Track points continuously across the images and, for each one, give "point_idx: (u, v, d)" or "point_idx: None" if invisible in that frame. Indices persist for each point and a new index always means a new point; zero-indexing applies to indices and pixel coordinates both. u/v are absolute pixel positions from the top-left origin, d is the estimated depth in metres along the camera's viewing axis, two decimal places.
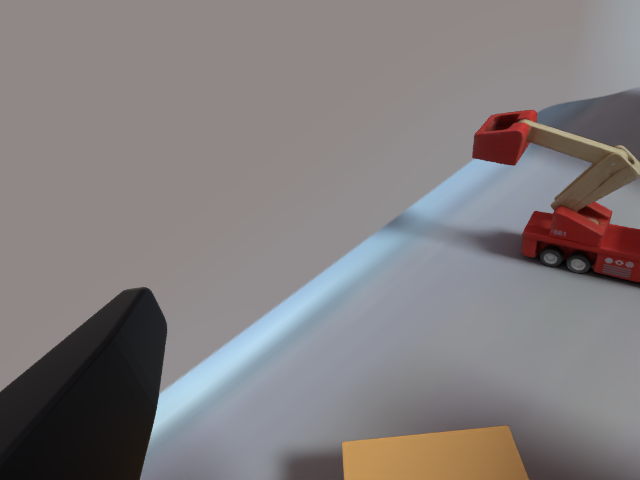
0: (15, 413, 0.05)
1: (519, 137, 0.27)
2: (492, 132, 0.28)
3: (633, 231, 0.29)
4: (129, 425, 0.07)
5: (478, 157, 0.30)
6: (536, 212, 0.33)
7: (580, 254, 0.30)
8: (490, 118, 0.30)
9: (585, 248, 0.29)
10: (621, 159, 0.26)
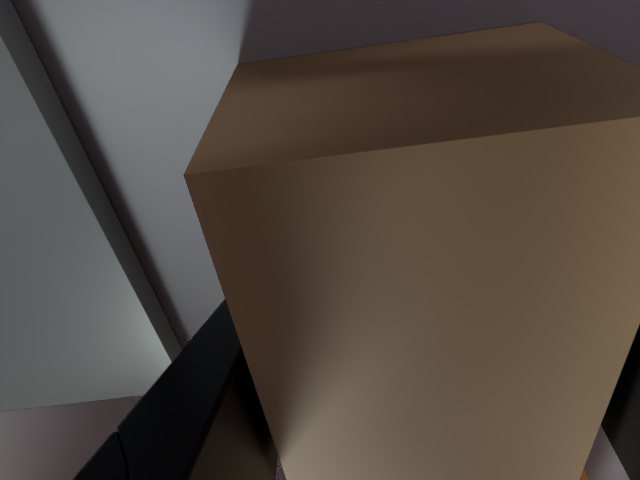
0: (193, 393, 0.05)
1: None
2: None
3: None
4: None
5: None
6: None
7: None
8: None
9: None
10: None
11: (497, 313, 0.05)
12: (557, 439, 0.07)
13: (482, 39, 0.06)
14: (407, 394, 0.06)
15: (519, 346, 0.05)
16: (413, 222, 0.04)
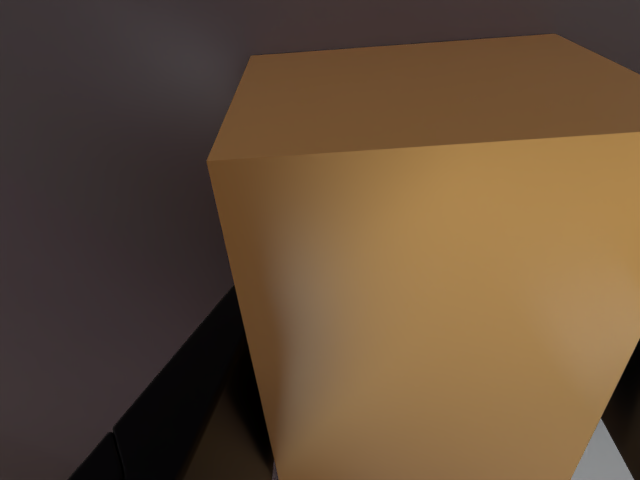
0: (188, 393, 0.05)
1: None
2: None
3: None
4: None
5: None
6: None
7: None
8: None
9: None
10: None
11: None
12: None
13: None
14: None
15: None
16: None
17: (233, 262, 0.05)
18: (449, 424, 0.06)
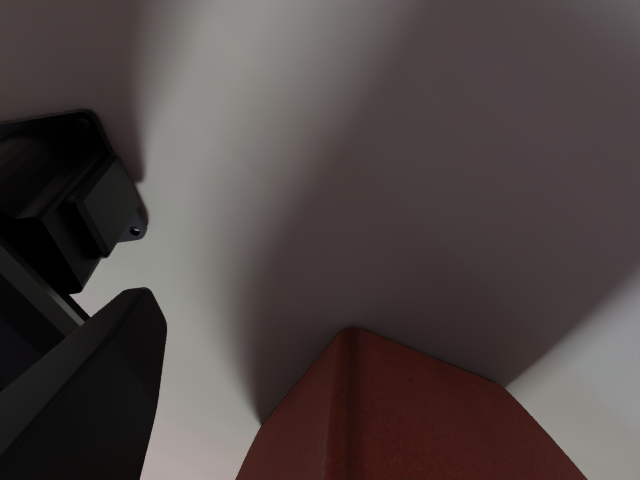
0: (15, 413, 0.05)
1: None
2: None
3: None
4: (129, 425, 0.07)
5: None
6: None
7: None
8: None
9: None
10: None
11: None
12: None
13: None
14: None
15: None
16: None
17: None
18: None
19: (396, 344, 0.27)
